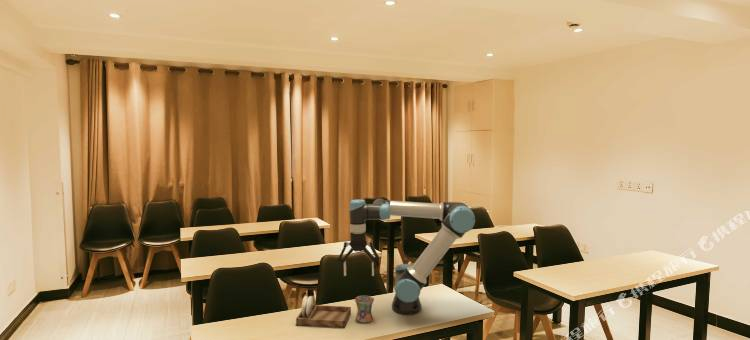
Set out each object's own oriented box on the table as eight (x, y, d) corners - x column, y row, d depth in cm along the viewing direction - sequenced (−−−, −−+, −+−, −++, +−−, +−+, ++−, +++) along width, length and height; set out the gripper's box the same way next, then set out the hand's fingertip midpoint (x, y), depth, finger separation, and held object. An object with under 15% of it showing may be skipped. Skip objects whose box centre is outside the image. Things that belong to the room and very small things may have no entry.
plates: (313, 312, 220) (312, 293, 220) (307, 321, 211) (307, 300, 210) (307, 312, 221) (307, 292, 220) (301, 320, 211) (301, 300, 210)
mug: (375, 323, 210) (375, 302, 209) (355, 324, 209) (355, 303, 208) (371, 313, 222) (371, 293, 221) (353, 314, 221) (353, 293, 220)
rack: (350, 313, 222) (350, 306, 222) (344, 328, 205) (344, 321, 205) (306, 311, 225) (306, 304, 224) (296, 325, 208) (296, 318, 207)
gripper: (384, 230, 215) (385, 272, 217) (333, 230, 217) (334, 272, 219) (383, 233, 208) (384, 277, 210) (331, 234, 209) (332, 277, 211)
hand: (359, 275), depth 214 cm, fingers open, 13 cm apart
